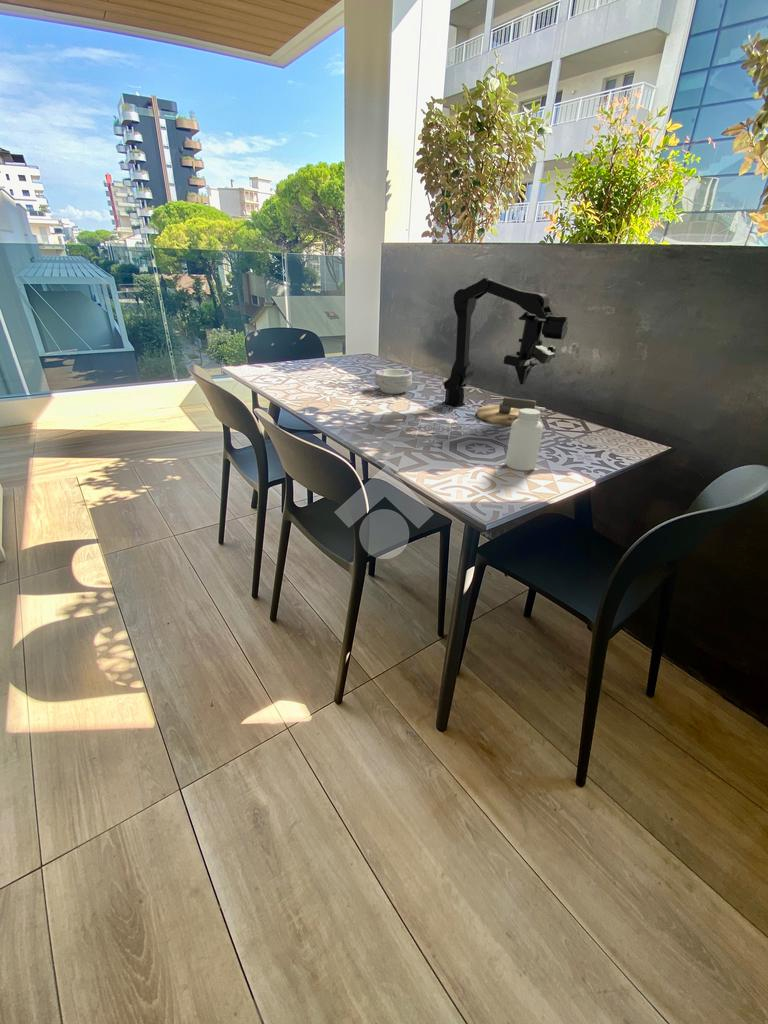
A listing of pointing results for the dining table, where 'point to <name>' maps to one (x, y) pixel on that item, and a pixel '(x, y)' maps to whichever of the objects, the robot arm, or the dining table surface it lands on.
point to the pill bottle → (524, 440)
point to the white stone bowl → (393, 380)
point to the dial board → (497, 415)
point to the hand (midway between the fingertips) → (521, 384)
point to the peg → (517, 404)
